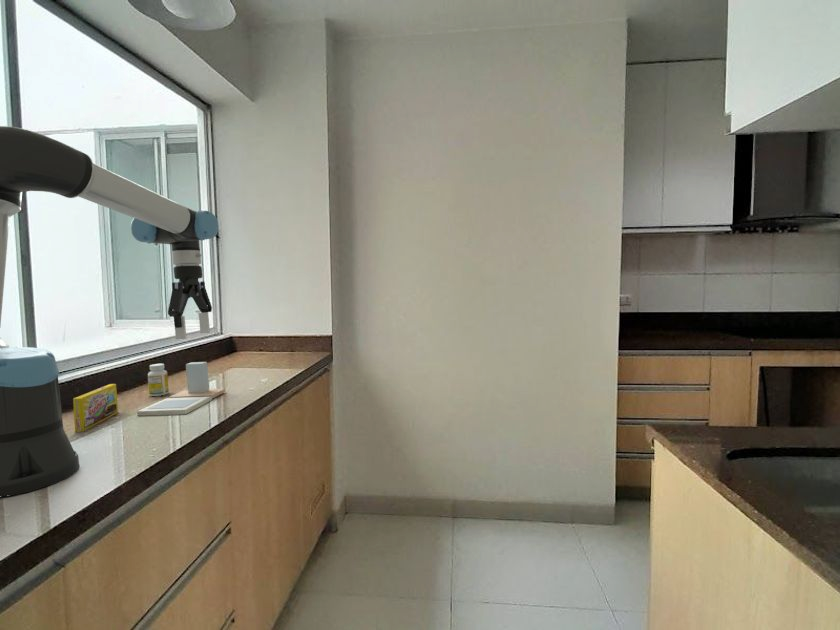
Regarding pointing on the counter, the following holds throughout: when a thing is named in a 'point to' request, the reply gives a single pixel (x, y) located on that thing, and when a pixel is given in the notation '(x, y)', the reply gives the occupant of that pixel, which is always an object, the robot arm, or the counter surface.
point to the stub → (198, 381)
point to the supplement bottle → (158, 380)
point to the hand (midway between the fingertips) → (193, 335)
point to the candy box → (95, 407)
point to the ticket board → (175, 405)
